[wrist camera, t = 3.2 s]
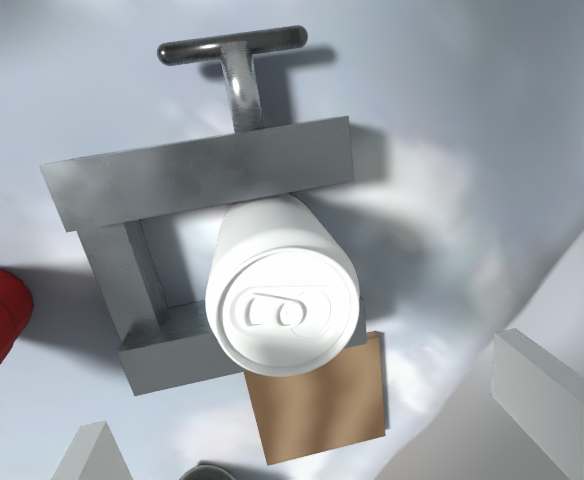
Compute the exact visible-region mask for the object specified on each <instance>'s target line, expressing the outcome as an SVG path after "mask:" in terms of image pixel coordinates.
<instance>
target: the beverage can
mask: <svg viewBox="0 0 584 480" xmlns="http://www.w3.org/2000/svg"><path fill="white" fill-rule="evenodd" d="M359 298H360V290H359V282H358V277H357V274H356V271H355V269H354V266H353V264H352V262H351V261H350V259H349V258H348V256H347V255H346V254H345V252H344V251H343V250H342V249H341V247H340V246H339V245H338V244H337V243H336V241H335V240H334V239H333V238H332V237H331V235H330V234H329V233H328V232H327V231H326V229H325V228H324V227H323V226H322V224H321V223H320V222H319V221H318V220H317V218H316V217H315V216H314V215H313V214H312V212H311V211H310V210H309V209H308V208H307V206H306V205H305V204H303V203H302V202H301V201H300V200H298V199H297V198H295V197H293V196H291V195H289V194H286V193H284V194H278V195H273V196H267V197H261V198H256V199H250V200H245V201H239V202H237V203H235V204H234V205H233V206H232V207H231V208H230V209H229V211H228V212H227V213H226V215H225V217H224V218H223V221H222V223H221V226H220V229H219V234H218V238H217V243H216V248H215V252H214V257H213V262H212V267H211V271H210V276H209V281H208V285H207V290H206V299H205V304H206V313H207V318H208V321H209V324H210V327H211V329H212V331H213V333H214V335H215V336H216V338H217V339H218V342H219V344H220V345H221V347H222V349H223V350H224V351H225V353H226V354H227V355H228V356H229V357H230V358H231V359H232V360H233V361H234V362H236V363H237V364H238V365H240V366H242V367H243V368H245V369H247V370H249V371H252V372H254V373H257V374H261V375H266V376H274V377H286V376H294V375H299V374H303V373H306V372H309V371H312V370H314V369H316V368H318V367H320V366H322V365H324V364H326V363H327V362H329V361H330V360H331V359H333V358H334V357H335V356H336V355H337V354H338V353H339V352H340V351H341V350H342V349H343V348H344V347H345V345H346V344H347V343H348V341H349V340H350V338H351V336H352V335H353V332H354V330H355V328H356V325H357V321H358V317H359Z"/></svg>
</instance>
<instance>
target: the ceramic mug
mask: <svg viewBox="0 0 584 480" xmlns="http://www.w3.org/2000/svg"><path fill="white" fill-rule="evenodd" d="M179 480H235V479H234V477H233V476H232V475H231V474H230V473H229V472H227V471H225V470H224V469H222V468H220V467H217V466H213V465H200V466H197V467H194V468H192V469H190V470H189V471H187V472H186V473H185V474H184V475H183V476H182V477H181V478H180V479H179Z"/></svg>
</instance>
